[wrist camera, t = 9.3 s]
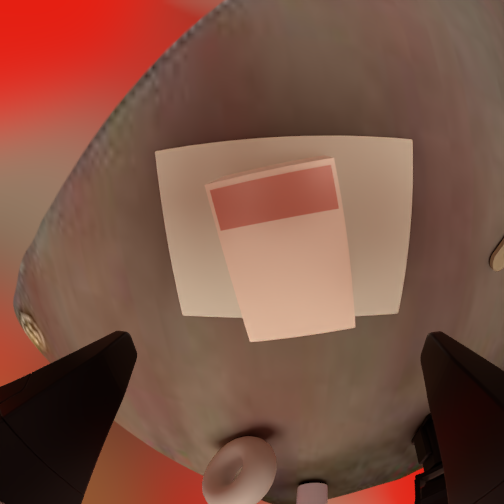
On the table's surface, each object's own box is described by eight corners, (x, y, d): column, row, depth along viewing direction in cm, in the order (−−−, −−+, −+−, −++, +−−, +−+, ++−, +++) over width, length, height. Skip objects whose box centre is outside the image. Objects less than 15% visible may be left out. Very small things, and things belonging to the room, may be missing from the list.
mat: (409, 139, 14) (412, 139, 14) (396, 309, 19) (397, 313, 18) (158, 151, 17) (155, 151, 16) (184, 311, 21) (182, 315, 21)
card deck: (345, 292, 18) (355, 328, 14) (258, 305, 19) (249, 342, 16) (324, 155, 15) (333, 157, 11) (224, 175, 16) (204, 185, 13)
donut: (264, 419, 25) (250, 504, 16) (287, 432, 26) (279, 512, 16) (207, 442, 29) (187, 508, 19) (229, 453, 29) (212, 517, 20)
